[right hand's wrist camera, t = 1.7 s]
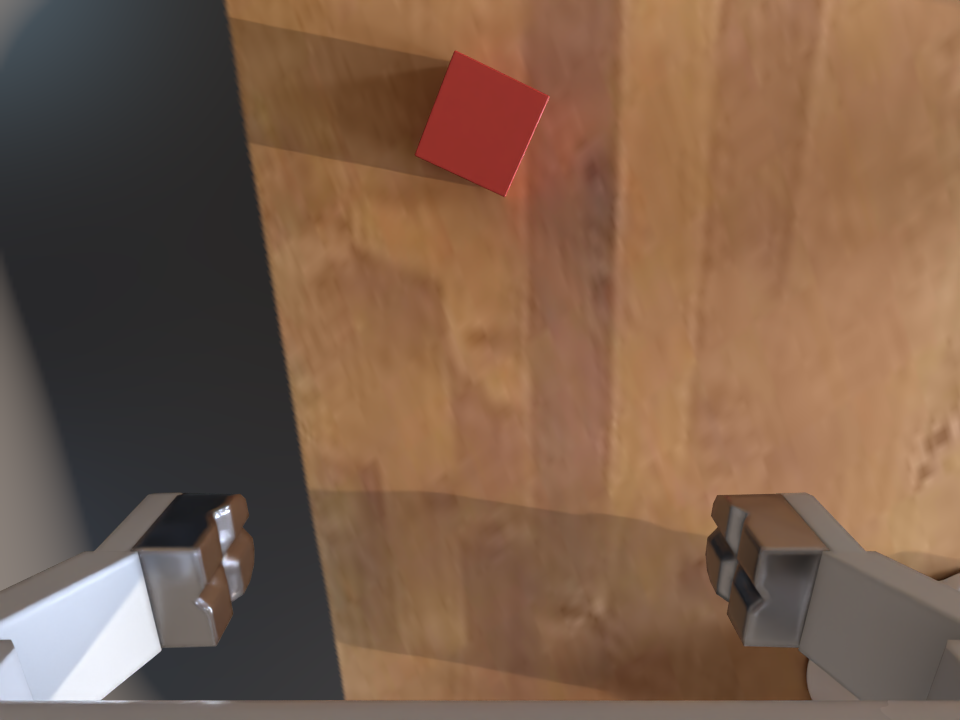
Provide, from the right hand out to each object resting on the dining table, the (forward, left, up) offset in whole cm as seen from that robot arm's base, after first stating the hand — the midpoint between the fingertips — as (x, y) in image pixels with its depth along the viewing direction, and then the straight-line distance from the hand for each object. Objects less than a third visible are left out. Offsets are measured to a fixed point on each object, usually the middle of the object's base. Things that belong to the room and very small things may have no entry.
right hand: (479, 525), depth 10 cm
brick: (+3, -7, -26) cm, 27 cm away
